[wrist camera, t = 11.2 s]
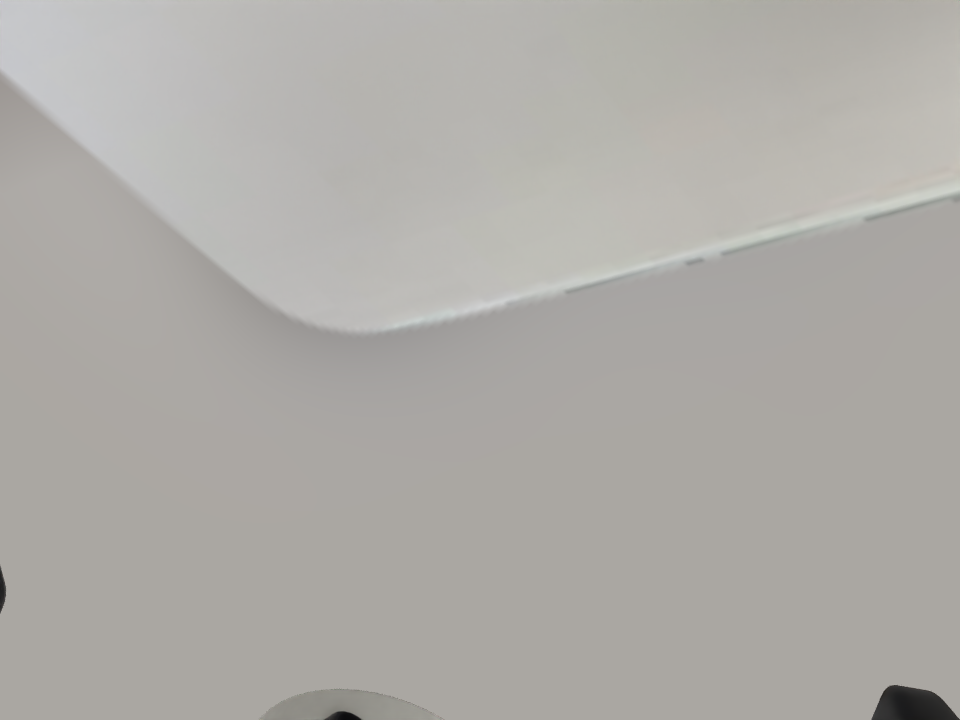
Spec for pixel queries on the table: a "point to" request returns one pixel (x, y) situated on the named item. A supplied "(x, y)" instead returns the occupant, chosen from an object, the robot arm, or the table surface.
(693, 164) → the table surface
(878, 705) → the robot arm
